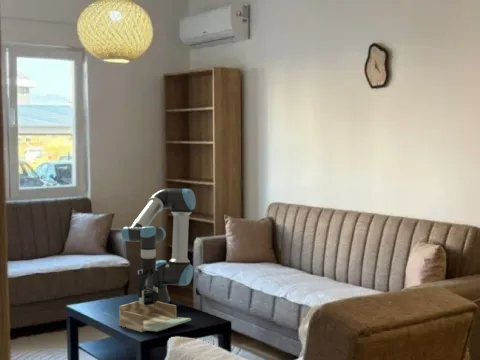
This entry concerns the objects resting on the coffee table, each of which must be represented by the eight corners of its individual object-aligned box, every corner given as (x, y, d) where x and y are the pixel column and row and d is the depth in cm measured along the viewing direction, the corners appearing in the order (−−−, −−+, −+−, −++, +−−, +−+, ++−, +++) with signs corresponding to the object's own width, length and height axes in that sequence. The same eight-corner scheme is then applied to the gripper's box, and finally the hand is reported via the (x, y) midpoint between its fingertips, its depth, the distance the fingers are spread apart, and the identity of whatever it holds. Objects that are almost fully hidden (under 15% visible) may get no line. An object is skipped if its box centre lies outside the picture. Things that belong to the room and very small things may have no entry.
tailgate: (176, 317, 334) (191, 318, 327) (176, 319, 334) (191, 320, 327) (142, 328, 315) (157, 329, 309) (142, 330, 315) (157, 331, 309)
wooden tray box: (154, 315, 344) (153, 296, 343) (176, 320, 334) (176, 301, 333) (119, 325, 325) (119, 306, 324) (141, 332, 315) (141, 311, 314)
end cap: (159, 303, 326) (158, 290, 325) (145, 305, 322) (145, 292, 322) (151, 299, 335) (151, 286, 334) (138, 301, 331) (138, 288, 331)
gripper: (158, 253, 338) (158, 296, 339) (126, 259, 321) (127, 304, 322) (168, 255, 333) (169, 298, 335) (137, 261, 316) (137, 307, 318)
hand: (148, 301), depth 328 cm, fingers closed on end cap, 9 cm apart
